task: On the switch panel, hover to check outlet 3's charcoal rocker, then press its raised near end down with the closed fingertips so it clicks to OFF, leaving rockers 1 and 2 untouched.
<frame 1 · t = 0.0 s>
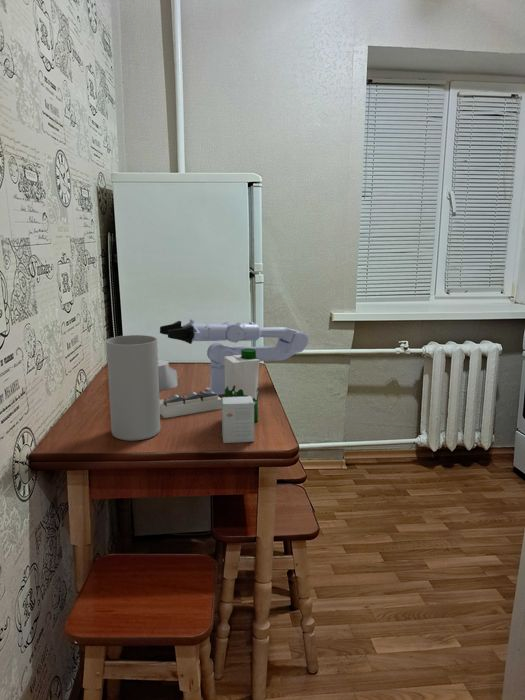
hand: (164, 332, 159), 22 cm above the table, tool horizontal, fingers open, 7 cm apart
switch panel: (189, 409, 155), on the table
cylinder vase: (136, 433, 136), on the table
milk carton: (241, 420, 147), on the table
rocker 3: (172, 399, 150), point 4 cm above the table, hinge at 12.0°, touching switch panel
rocker 2: (190, 397, 152), point 4 cm above the table, hinge at 12.0°, touching switch panel
small box: (237, 439, 133), on the table
rocker 1: (208, 394, 155), point 4 cm above the table, hinge at -12.0°, touching switch panel
toilet tissue: (159, 387, 177), on the table
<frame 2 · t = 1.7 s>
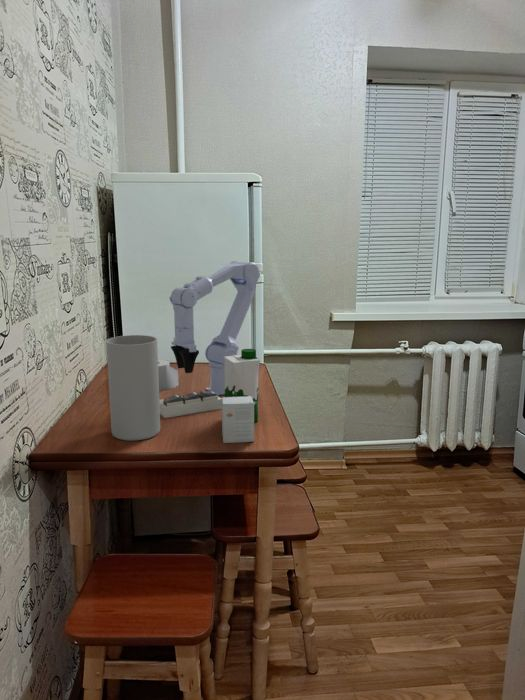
hand: (185, 370, 160), 10 cm above the table, tool pointing down, fingers open, 6 cm apart
nothing on the table moved.
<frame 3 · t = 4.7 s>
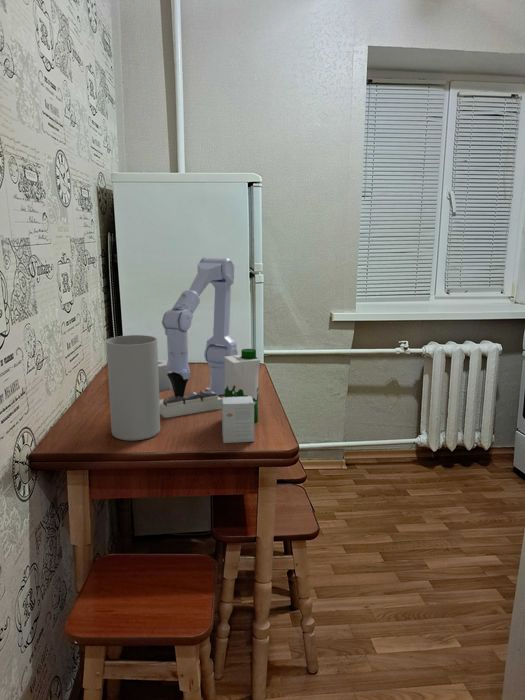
hand: (179, 397, 151), 5 cm above the table, tool pointing down, fingers closed, pressing on rocker 3
rocker 3: (172, 399, 150), point 4 cm above the table, hinge at 11.3°, touching gripper, switch panel
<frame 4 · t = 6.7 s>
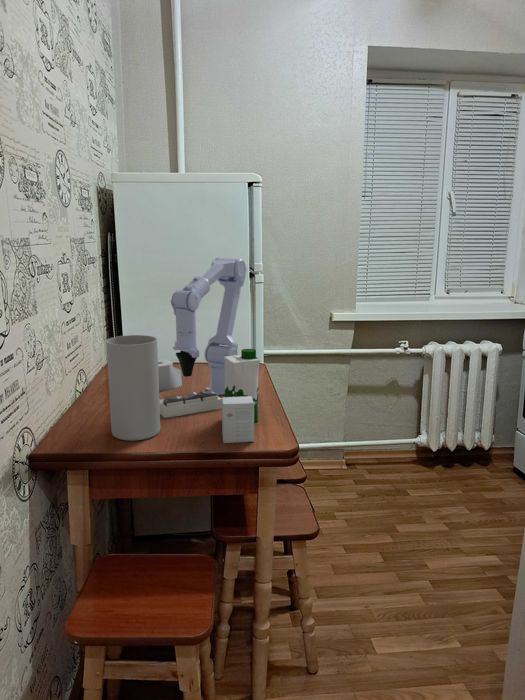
hand: (187, 375, 154), 10 cm above the table, tool pointing down, fingers closed
rocker 3: (172, 399, 150), point 4 cm above the table, hinge at -7.9°
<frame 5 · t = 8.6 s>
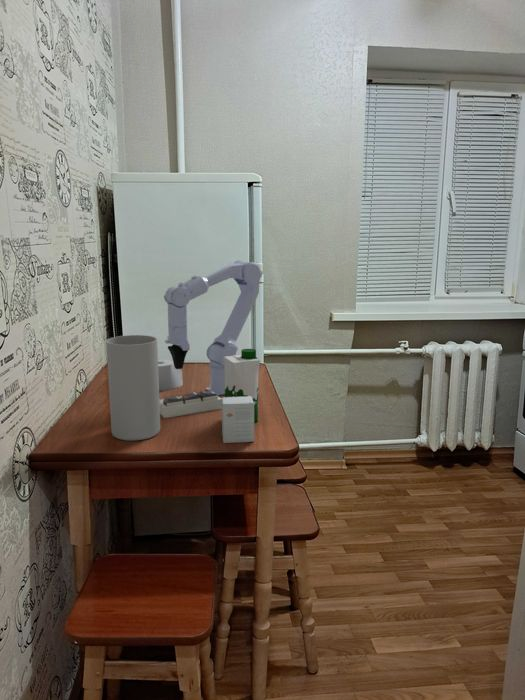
hand: (178, 368, 162), 10 cm above the table, tool pointing down, fingers closed
rocker 3: (172, 399, 150), point 4 cm above the table, hinge at -8.7°
at the end: rocker 3 at -9° (first picture: +12°); rocker 2 at +12° (first picture: +12°); rocker 1 at -12° (first picture: -12°) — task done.
